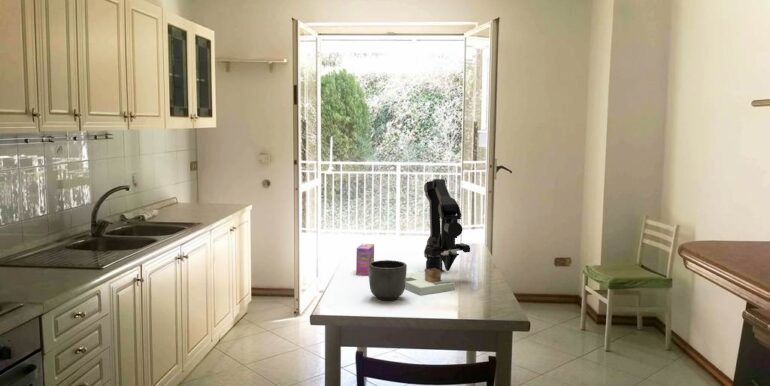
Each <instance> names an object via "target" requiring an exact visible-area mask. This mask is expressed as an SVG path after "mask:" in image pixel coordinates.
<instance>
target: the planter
mask: <svg viewBox="0 0 770 386" xmlns="http://www.w3.org/2000/svg"><path fill="white" fill-rule="evenodd" d="M407 267H408V266H407V263H405V262H403V261H400V260H388V259H384V260H383V259H382V260H374V262H371V263H370V264H369V276H368V281H369V289H370V292H371V294H372V295H373V296H374V297H375V298H376V300H377V301H381V302H394V301H398V299H399V298H400V297H401V296H403V293H405V292H404V291H405V290H406V289H405V284H406V274H407V271H408V270H407Z"/></svg>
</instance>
